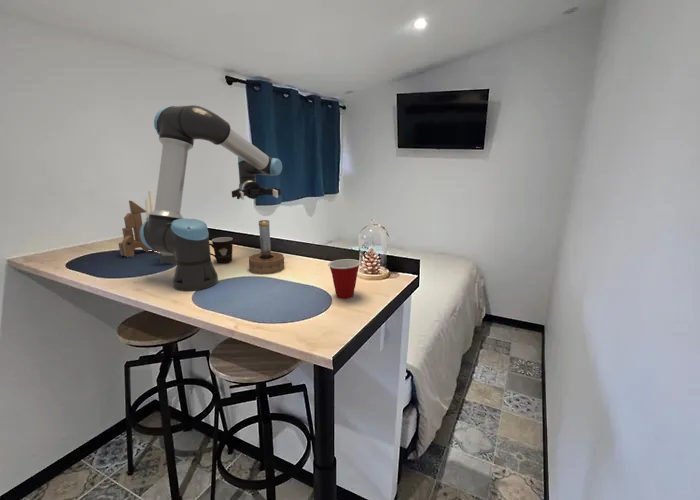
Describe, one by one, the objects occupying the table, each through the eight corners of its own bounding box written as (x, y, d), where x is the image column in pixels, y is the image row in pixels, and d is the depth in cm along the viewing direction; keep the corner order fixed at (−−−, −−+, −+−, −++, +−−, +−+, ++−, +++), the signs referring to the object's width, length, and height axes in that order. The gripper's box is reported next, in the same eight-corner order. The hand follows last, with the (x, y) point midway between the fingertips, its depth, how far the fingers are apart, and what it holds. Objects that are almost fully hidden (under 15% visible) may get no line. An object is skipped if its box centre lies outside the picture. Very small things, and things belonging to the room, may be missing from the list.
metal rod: (272, 269, 150) (269, 221, 145) (261, 270, 149) (258, 222, 144) (271, 266, 154) (269, 219, 148) (261, 267, 153) (258, 220, 147)
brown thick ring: (285, 272, 147) (285, 260, 145) (249, 275, 143) (248, 263, 142) (282, 262, 160) (281, 251, 158) (249, 264, 156) (248, 253, 155)
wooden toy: (126, 258, 164) (117, 203, 157) (120, 256, 168) (111, 202, 161) (161, 251, 176) (153, 199, 169) (154, 249, 179) (147, 198, 173)
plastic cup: (342, 287, 131) (342, 255, 128) (366, 294, 125) (367, 261, 122) (321, 296, 123) (321, 262, 120) (346, 304, 117) (346, 269, 113)
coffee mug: (237, 258, 164) (235, 237, 161) (229, 264, 156) (227, 242, 153) (212, 258, 165) (210, 236, 162) (203, 263, 157) (201, 241, 154)
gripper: (279, 196, 171) (291, 202, 152) (223, 199, 161) (228, 206, 143) (278, 180, 169) (290, 184, 150) (221, 182, 159) (226, 187, 141)
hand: (260, 195), depth 146 cm, fingers open, 13 cm apart
